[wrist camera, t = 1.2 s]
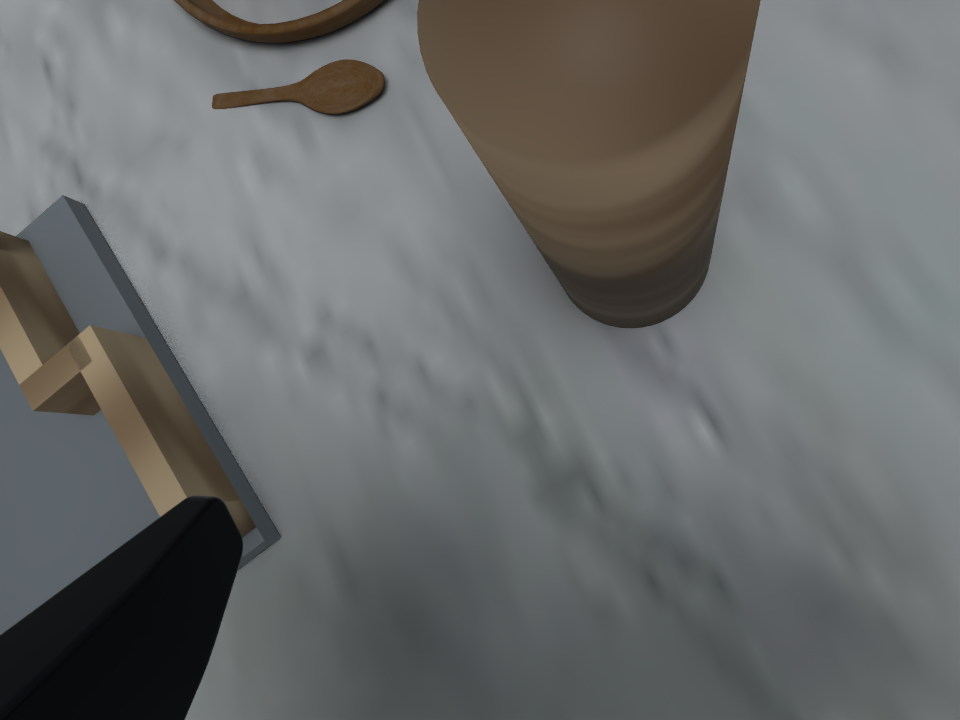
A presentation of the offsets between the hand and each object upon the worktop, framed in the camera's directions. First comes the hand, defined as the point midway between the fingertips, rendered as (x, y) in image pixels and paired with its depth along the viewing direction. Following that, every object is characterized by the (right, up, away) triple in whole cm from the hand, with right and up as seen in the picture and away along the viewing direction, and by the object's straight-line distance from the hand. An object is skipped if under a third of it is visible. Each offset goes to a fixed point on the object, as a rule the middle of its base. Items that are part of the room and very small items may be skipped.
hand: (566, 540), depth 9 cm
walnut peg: (+3, +5, +13) cm, 15 cm away
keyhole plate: (-17, -2, +18) cm, 24 cm away
